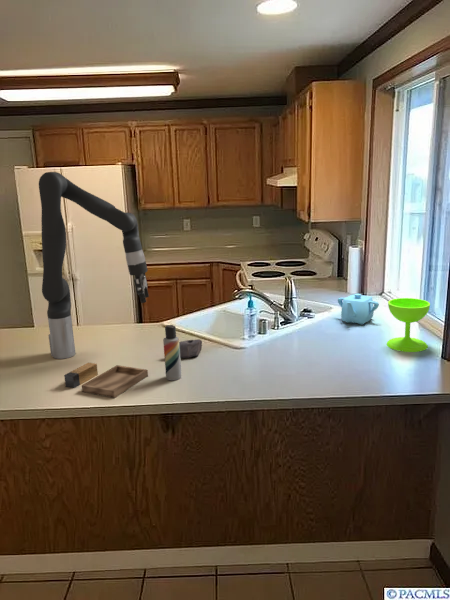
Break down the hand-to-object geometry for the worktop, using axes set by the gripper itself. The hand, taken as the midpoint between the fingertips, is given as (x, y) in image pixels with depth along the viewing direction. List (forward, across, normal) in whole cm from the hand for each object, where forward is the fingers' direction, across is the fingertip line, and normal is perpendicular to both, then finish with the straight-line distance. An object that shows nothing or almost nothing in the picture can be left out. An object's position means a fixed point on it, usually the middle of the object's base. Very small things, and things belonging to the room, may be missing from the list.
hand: (145, 299), depth 211 cm
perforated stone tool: (+24, +10, +12) cm, 29 cm away
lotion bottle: (+24, +31, +10) cm, 40 cm away
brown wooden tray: (+21, +34, -11) cm, 41 cm away
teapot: (+36, -27, +91) cm, 101 cm away
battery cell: (+19, +30, -24) cm, 43 cm away
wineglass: (+37, +8, +103) cm, 109 cm away
